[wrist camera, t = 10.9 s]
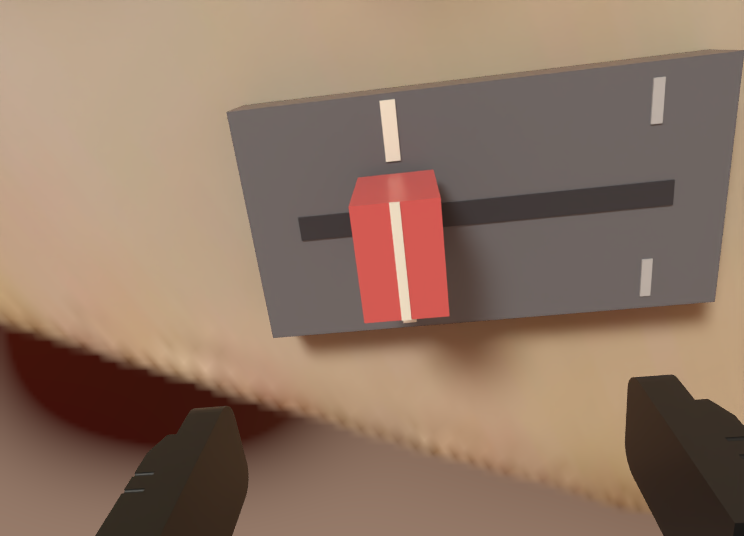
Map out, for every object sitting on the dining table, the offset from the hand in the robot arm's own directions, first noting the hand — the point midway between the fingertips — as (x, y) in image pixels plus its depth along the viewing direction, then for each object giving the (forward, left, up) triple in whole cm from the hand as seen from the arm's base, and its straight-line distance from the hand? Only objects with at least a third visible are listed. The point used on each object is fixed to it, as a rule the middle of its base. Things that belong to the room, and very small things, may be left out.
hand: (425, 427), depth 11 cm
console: (-3, +1, -20) cm, 20 cm away
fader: (+1, +1, -17) cm, 17 cm away
